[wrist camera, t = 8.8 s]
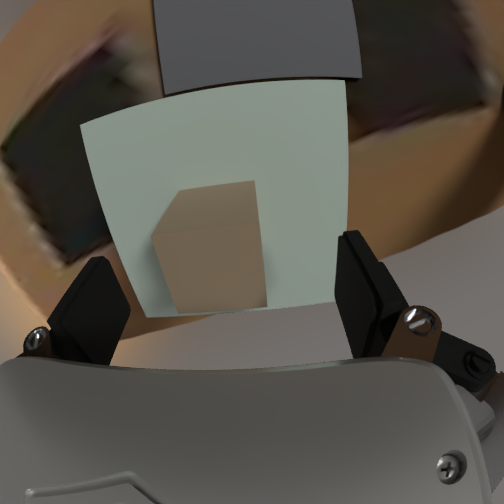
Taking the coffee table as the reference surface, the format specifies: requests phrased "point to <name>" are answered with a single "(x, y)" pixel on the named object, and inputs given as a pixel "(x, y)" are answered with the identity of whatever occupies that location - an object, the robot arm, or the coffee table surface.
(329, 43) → the mat
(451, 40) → the coffee table surface
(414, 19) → the coffee table surface
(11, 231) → the coffee table surface
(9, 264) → the coffee table surface
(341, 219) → the lid
